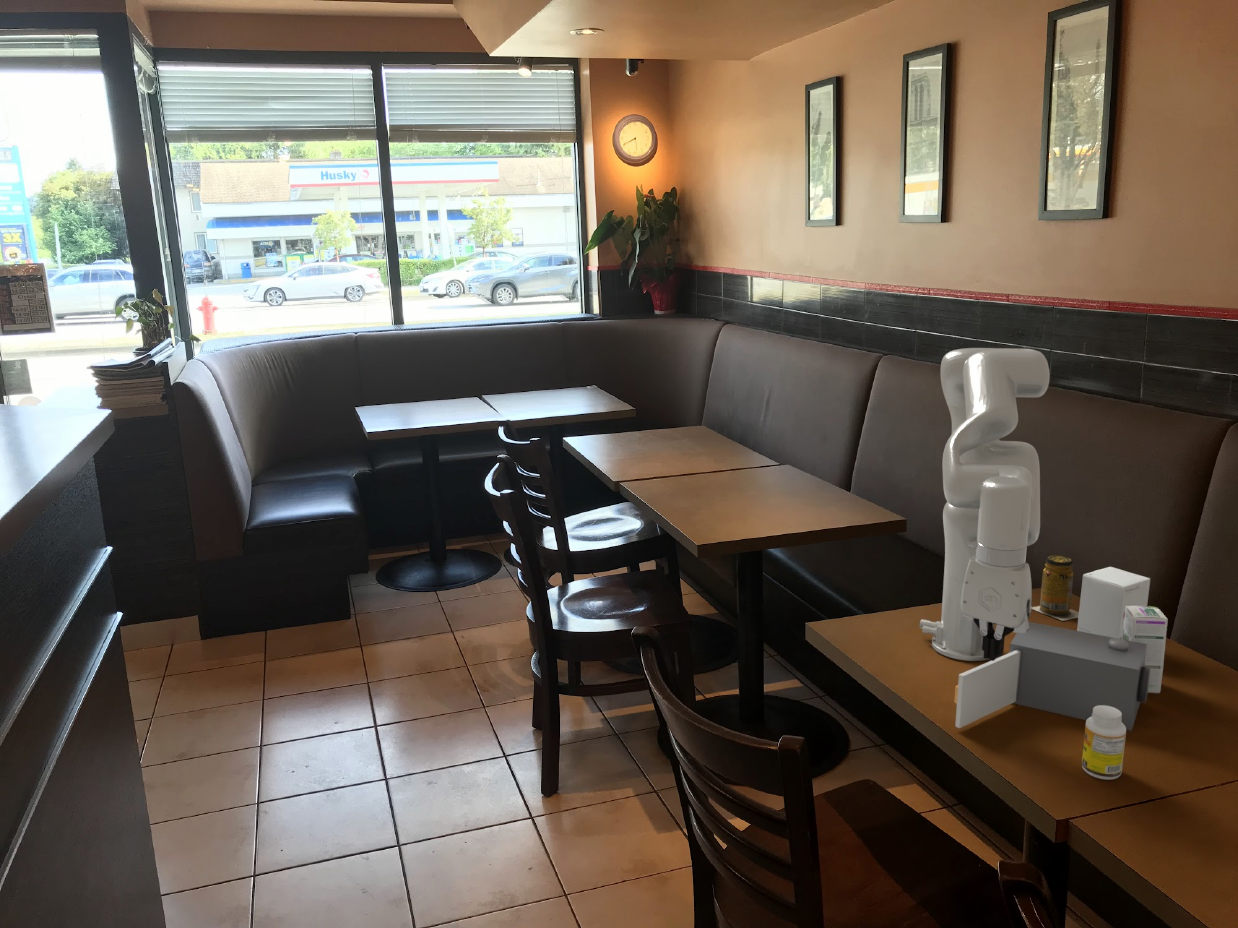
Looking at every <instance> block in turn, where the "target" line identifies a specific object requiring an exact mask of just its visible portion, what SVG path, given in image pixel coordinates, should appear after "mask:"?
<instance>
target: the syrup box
mask: <svg viewBox="0 0 1238 928" xmlns="http://www.w3.org/2000/svg"><path fill="white" fill-rule="evenodd" d="M1168 622H1169V621H1168V618H1167V617H1166V615H1164V613H1163V611H1161V609H1159V607H1157V606H1151V605H1149V606H1148V605H1147V606H1126V607H1125V617H1124V627H1123V638H1122V639H1123V640H1128V641H1133V642H1138V643H1144V644H1147V648H1146V657H1145V665H1144V667H1148V668H1150V680H1149V688H1148V694H1151V693H1152V694H1160V693H1161V691H1162V688H1161V687H1162V679H1163V670H1164V664H1165V663H1164V661H1165V651H1166V640H1167V631H1168V628H1167V627H1168Z"/></svg>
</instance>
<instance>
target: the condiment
mask: <svg viewBox="0 0 1238 928" xmlns="http://www.w3.org/2000/svg"><path fill="white" fill-rule="evenodd" d="M1073 564H1074V563H1073V560H1072V559H1071V558H1069V557H1068V556H1062V555H1050V556H1047V558H1046V559H1045V564H1044V566H1045V567H1044V569H1043V571H1042V578H1041V579H1042V580H1041V587H1040V588H1041V590H1040V600H1039V601H1040V602H1039V605H1037V606H1031V610H1034V611H1036V612H1039V613H1041V614H1044V615H1047V616H1050V617H1052V618H1054V619H1058V620H1060V621H1068V620H1073V619H1078V617H1079V611H1076V610H1074V609H1071V604H1072V603H1071V601H1072V592H1073V581H1074V572H1073ZM1069 611H1071V612H1069ZM1070 613H1071V614H1070Z"/></svg>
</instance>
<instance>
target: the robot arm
mask: <svg viewBox="0 0 1238 928" xmlns="http://www.w3.org/2000/svg"><path fill="white" fill-rule="evenodd" d="M1050 375H1051V373H1050V367H1049V362H1048V360H1047V358H1046V356H1045V355H1044V354H1043V353H1042V352H1041V351H1038V350H1036V349H1032V348H1006V347H1005V348H1004V347H1003V348H1000V347H998V348H996V347H968V348H965V347H964V348H959V349H953V350H950V351H949V352H947V353H945V355H944V356H943V357H942V360H941V363H940V382H941V383H940V384H941V388H942V392H943V396H944V399H945V401H946V405H947V407H948V411H949V414H950V419H951V435H950V437H948V439H947V441H946V443H945V446H944V450H943V453H942V461H941V462H942V466H941V467H942V483H943V484H942V486H943V487H942V488H943V493H944V498H945V500H946V503H945V504H944V507H943V509H942V511H943V512H942V520H943V521H942V522H943V533H944V534H943V535H944V552H945V553H944V571H943V572H944V573H943V585H942V587H943V589H942V602H941V603H942V604H941V617H940V618H941V619H940V620H941V621H939V620H936V621H931V620H928V619H923V618H922V619H920V622H919V628H920V629H922V633H924V634H930V635H933V636H932V638H931V646H932V649H934V651H936V652H937V653H939V654H941V655H943V656H945V657H947V658H951V659H954V660H959V661H967V662H982V661H983V662H984V661H988V660H989V661H994V660H995V659H996V658H999V657H1001V656H1003V654H1004V651H1005V650H1004V649H1005V638H1006V637H1007V636H1008V635H1010V634H1012V633H1015V634H1017V633H1026V632H1027V631H1028V630H1029V624H1028V622H1029V619H1030V617H1031V613H1032V609H1031V607H1032V601H1033V600H1032V596H1033V595H1032V588H1033V587H1032V577H1031V575H1032V574H1031V569H1030V564H1029V563H1028V562H1026V561H1027V560H1026V559H1027V549H1028V547H1029V546H1032V545H1034V544H1035V543H1036V542H1037V541H1038V538H1039V535H1040V530H1041V529H1040V528H1041V482H1040V481H1041V474H1040V473H1041V472H1040V471H1041V470H1040V468H1041V467H1040V459H1039V454H1038V452H1037V450H1036V448H1035V447H1034V446H1033V445H1032V444H1030V443H1028V442H1024V441H1015V440H1013V441H1012V440H1008V441H1007V440H1000V439H1002V438H1005V437H1006V436H1008V435H1009V434H1011V433H1013V432H1014V430H1015V429H1016V428H1017V427H1018V426H1017V425H1018V423H1019V413H1018V408H1017V407H1018V406H1017V398H1040V397H1042V396H1044V395H1045V393H1046V392H1047V390H1048V388H1049V384H1050ZM995 625H996V627H995Z"/></svg>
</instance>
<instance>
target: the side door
mask: <svg viewBox="0 0 1238 928" xmlns="http://www.w3.org/2000/svg"><path fill="white" fill-rule="evenodd" d="M1009 652H1010V651H1009ZM1009 652H1008V653H1006V654H1004V655H1003V654H1002V655H1001V656H999V657H998V658H996V659H995V660H994V661H992V660H989V661H988V662H985V663H983V664H980V665H978V666H975V667H972V668H971V669H968V670H966V671H964V672H962V673H959V674H958V683H957V685H955V688H954V700H953V701H954V703H955V704H956V709H955V710H956V711H955V713H956V714H955V727H956V728H958V729H961V728H963V727H966V726H967V725H970V724H971V723H974V722H976V721H978V720H980V719H982V718H984V717H986V716H988V715H991V714H992V713H995V712H997V711H998V710H1001V709H1003V708H1005V707H1007V706H1009V705H1011V704H1015V703H1014V702H1016V701H1017V693H1018V681H1019V669H1020V658H1021V651H1020V650H1015V651H1013V652H1010V653H1009Z"/></svg>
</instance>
